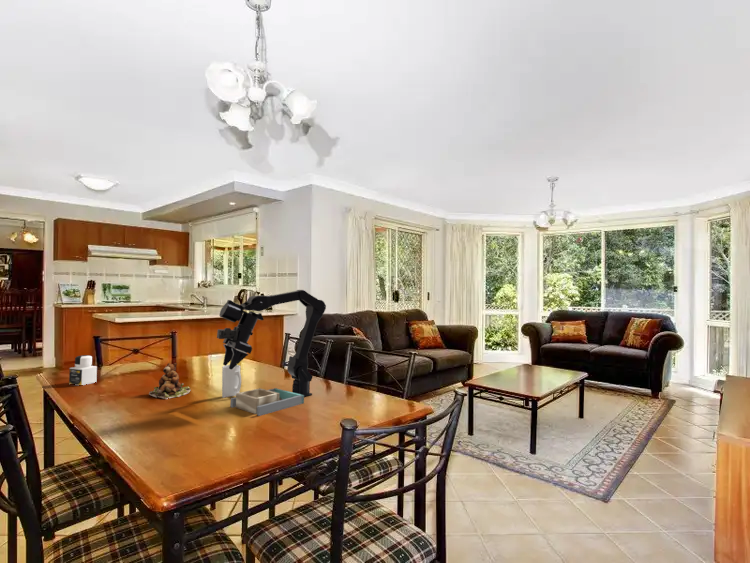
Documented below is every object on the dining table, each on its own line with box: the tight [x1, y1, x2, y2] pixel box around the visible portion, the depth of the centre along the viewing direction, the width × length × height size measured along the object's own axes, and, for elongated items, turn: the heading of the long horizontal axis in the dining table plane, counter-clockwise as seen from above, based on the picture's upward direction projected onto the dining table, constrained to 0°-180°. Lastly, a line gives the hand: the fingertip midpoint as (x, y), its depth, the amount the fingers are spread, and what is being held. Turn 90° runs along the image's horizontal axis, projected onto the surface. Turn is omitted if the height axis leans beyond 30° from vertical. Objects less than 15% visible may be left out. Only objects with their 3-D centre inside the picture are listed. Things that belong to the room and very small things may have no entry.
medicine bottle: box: [68, 354, 98, 386], centre depth 180 cm, size 7×7×12 cm
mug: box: [221, 364, 242, 399], centre depth 162 cm, size 10×7×12 cm, turn 50°
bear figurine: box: [148, 362, 192, 400], centre depth 166 cm, size 14×15×12 cm
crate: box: [235, 387, 280, 415], centre depth 146 cm, size 10×11×5 cm
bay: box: [229, 387, 305, 417], centre depth 149 cm, size 20×16×4 cm
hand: (227, 367), depth 151 cm, fingers open, 9 cm apart
